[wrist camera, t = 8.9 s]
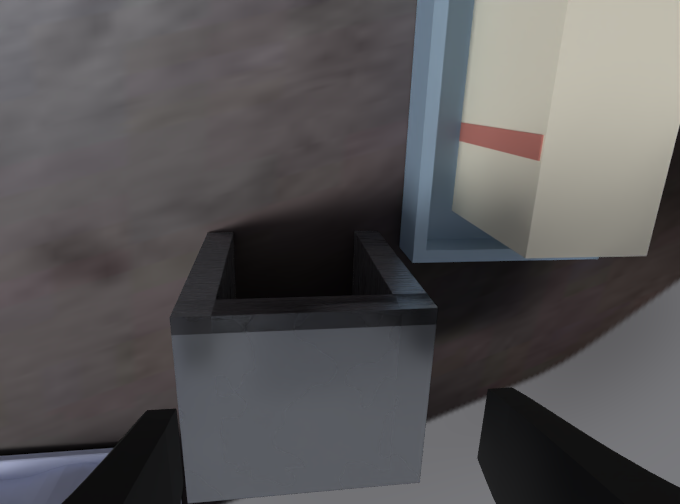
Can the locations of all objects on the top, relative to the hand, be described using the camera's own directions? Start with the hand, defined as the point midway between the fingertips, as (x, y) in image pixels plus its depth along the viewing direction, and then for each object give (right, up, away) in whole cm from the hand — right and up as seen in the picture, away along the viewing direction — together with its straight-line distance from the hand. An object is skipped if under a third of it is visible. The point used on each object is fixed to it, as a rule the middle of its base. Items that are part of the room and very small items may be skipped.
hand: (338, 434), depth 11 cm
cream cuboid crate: (+7, +12, +7) cm, 15 cm away
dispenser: (-2, +2, +10) cm, 10 cm away
